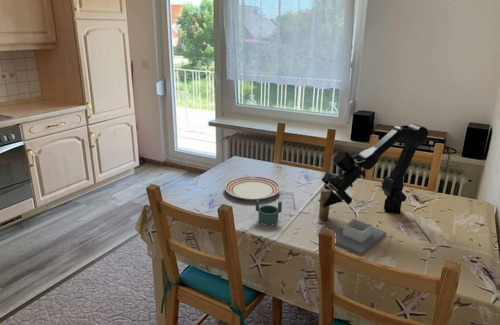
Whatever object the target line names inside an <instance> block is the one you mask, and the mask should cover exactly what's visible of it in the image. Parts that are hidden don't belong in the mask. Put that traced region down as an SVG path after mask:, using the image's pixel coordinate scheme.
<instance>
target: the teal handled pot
mask: <svg viewBox="0 0 500 325" xmlns="http://www.w3.org/2000/svg"><path fill="white" fill-rule="evenodd" d="M277 202H278V203H277V206H274V205H270V204H268V205H262V206H260V199H258V200H255V211H256V212H257V213H258V218H257V219H258V220H259V221H258V223H259V222H260V224H261V223H263V224H266V225H265V226H273V225H272V224H275V225H276V223H277V222H279V214H280V213H282V209H283V208H282V207H283V206H282V204H283V202H282V201H277ZM263 224H262V225H263ZM277 224H278V223H277Z"/></svg>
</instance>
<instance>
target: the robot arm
mask: <svg viewBox="0 0 500 325" xmlns="http://www.w3.org/2000/svg"><path fill="white" fill-rule="evenodd" d="M428 135H429V131H428V129H427V127H426V126H425V127H424V126H422V125H420V124H416V123H411V124H409V125H406V124H405V125H395V126H393V128H392V129H391V130H390V131H388V133H386V134H385V135H384V136H383V137H381V139H380V140H378V141H377V142H376V143H375V144H374V145H373V146H371V147H369V148H367V149H366V148H365V149H364V150H362V151H361V152H358V154H356V155H350V153H349V152H348V151H347V150H344V151H342V152H339V153H337V154H335V155H334V156H333V159H332V162H333V163H334V164H335V165H336V166H337V167H338V168H339V169H340V171H341V172H342V173H337V174H335V173H333V172H330V171H328V170H326V172H325V174H324V176H323V177H322V178H321V179H320V180H321V181H322V182H323V187H324V188H323V189H328V190H330V191H331V194H330V197H329V199H328V200H327V201H326V202H325V203H324V205H323V206H324V207H327V206H329V207H330V206H332V205H335V204H340V203H344V202H345V204H347V205H348V206H349V205H350V204H351V203H352V202H353V201H352V200H353V198H352V197H351V196H350V195H349V194H348V193H347V192H346V190H348V188H353V187H354V185H353V184H354V183H355V182H356V180H358V179H359V178H360V177H363V178H366V172H367V171H366V170H368V171H369V170H372V169H373V167H375V165H376V164H378V162H379V159H380V157H381V156H382V155H383V154H384V153H385V152H386V151H388V150H389V149H390V148H392V146H393V145H395V144H396V143H397V142H398V141H399V140H400V139H402V138H404V146H403V147H402V150H401V152H400V154H399V156H398V159H397V161H396V163H395V165H394V167H393V171H392V173H391V174H390V175H388V176H384V177H383V178H384V179H383V181H382V183H381V191H383V193H384V195H385V197H386V198H384V203H383V210H384V213H388V214H395V215H399V216H400V215H401V210H402V209H401V208H402V203H403V202H406V200H407V195H406V194H405V193H404V192H403V190H404V178H405V176H406V173H407V171H408V170H409V169H408V168H409V166H410V164H411V162H412V160H413V158H414V155H415V153H416V151H417V149H418V148H419V147H420V146H421V145H423V143H424V142H425V141H426V139H427V137H428ZM318 202H319V203H320V199H319V200H318Z"/></svg>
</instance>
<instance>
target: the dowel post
mask: <svg viewBox="0 0 500 325" xmlns="http://www.w3.org/2000/svg"><path fill="white" fill-rule="evenodd" d="M330 194H331V191H330V190H328V189H324V188H322V189H320V197H319V200H320V202H319V211H318V220H321V221H327V220H329V218H330V217H329V216H330V206H327V207H324V206H323V205H324V203H325V202H326V201H327V200H328V199H329V197H330Z"/></svg>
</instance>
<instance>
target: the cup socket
mask: <svg viewBox="0 0 500 325" xmlns="http://www.w3.org/2000/svg"><path fill="white" fill-rule="evenodd" d="M334 233H336V244H335V245H337V246H338V247H339V246H340V247H342V248H344V249H345V250H349V251H350V252H353V253H355V254H358V255H359V256H362V255H363V254H364V253H366V252H367V251H368V250H369V249H371V247H373V246H374V245H375V244H377V242H379V241H380V240H382V239H383V238H384V237H385V236H386V235H387V231H385V230H383V229H380V228H377V227H374V225H373V224H372V223H371V224H370V223H368V222H365V221H361V220H360V219H356V218H352V219H351V220H349V221H348V222H347V223H345V224H343V226H342V227H340V228H339V229H338V230H336V231H335V232H334Z"/></svg>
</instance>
